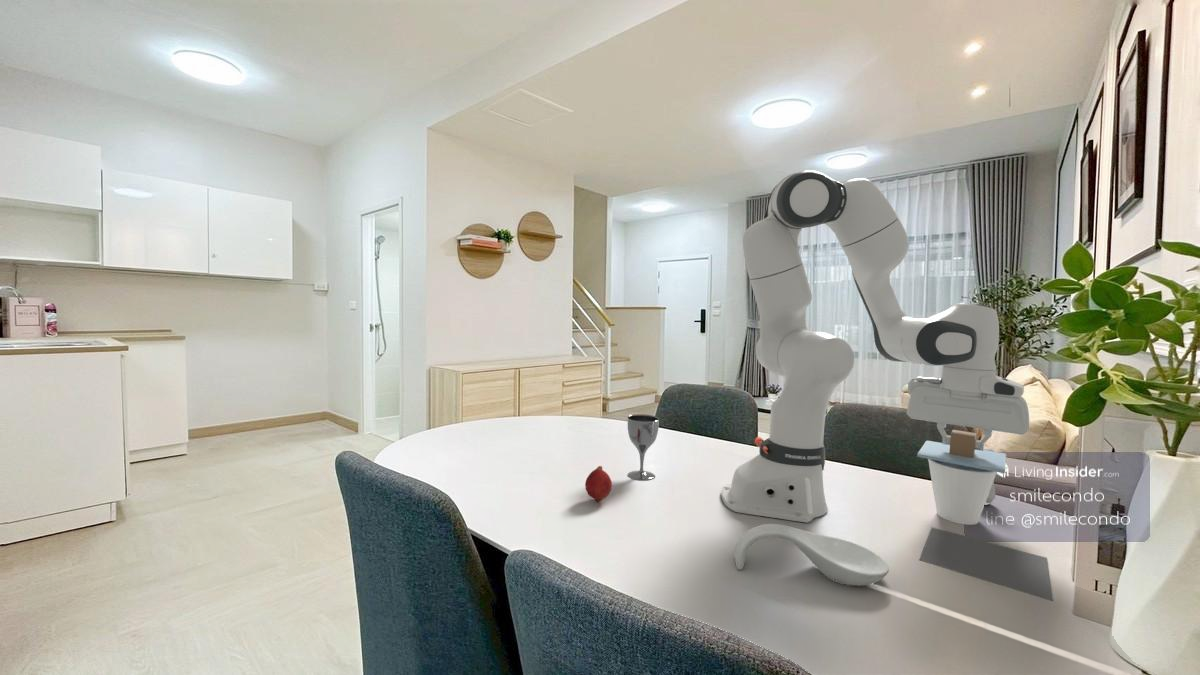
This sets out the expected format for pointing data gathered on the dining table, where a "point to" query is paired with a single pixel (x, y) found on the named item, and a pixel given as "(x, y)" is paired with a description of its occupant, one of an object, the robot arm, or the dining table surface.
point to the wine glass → (642, 440)
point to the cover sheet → (966, 461)
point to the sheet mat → (989, 562)
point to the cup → (960, 491)
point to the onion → (598, 484)
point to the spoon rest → (821, 554)
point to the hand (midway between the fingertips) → (962, 447)
